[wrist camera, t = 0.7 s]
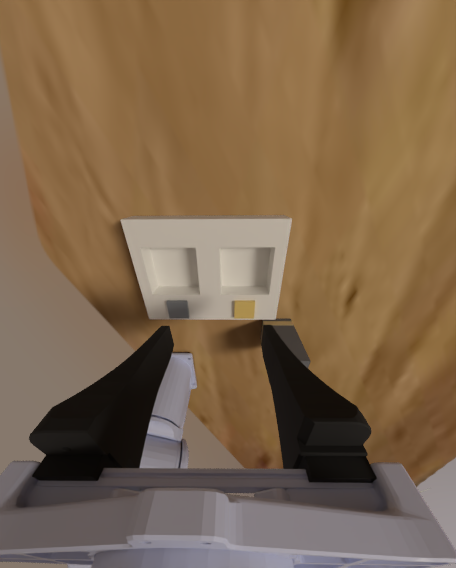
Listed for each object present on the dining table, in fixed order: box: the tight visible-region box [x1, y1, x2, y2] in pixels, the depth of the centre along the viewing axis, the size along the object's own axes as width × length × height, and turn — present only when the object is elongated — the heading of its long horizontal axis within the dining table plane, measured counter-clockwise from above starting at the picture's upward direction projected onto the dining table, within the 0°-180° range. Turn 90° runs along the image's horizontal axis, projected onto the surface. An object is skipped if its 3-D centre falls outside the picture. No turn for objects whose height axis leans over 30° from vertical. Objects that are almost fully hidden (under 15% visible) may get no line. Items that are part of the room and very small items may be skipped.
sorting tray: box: [120, 215, 292, 320], centre depth 20 cm, size 12×16×3 cm
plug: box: [260, 319, 310, 383], centre depth 23 cm, size 4×4×7 cm
